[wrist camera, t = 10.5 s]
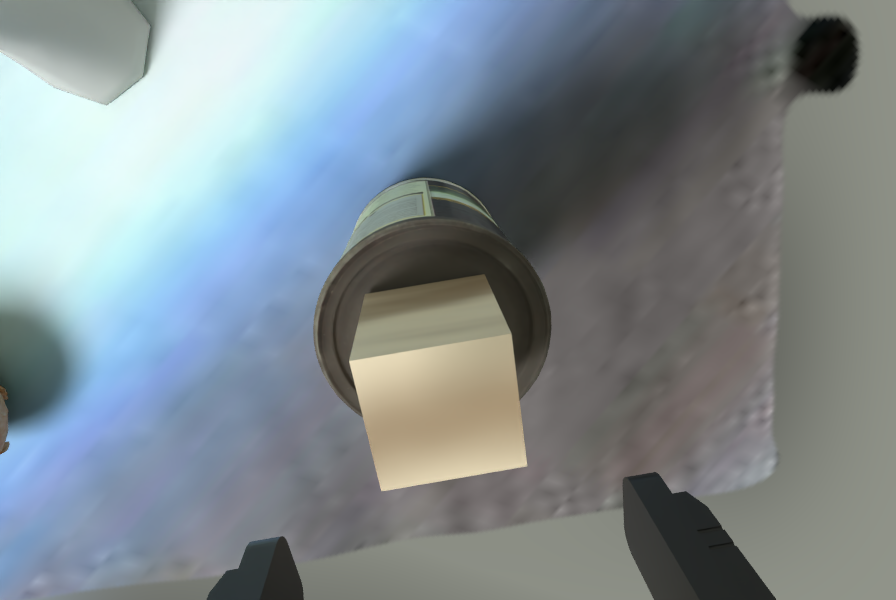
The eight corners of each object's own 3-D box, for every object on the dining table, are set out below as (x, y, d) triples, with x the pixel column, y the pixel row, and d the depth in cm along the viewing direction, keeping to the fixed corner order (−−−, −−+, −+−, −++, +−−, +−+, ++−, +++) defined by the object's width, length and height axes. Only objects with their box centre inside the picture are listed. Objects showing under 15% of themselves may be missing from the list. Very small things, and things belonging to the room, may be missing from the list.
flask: (50, -72, 27) (-136, -165, 18) (175, 23, 29) (65, -17, 20) (-5, 45, 29) (-201, 15, 20) (116, 127, 31) (-10, 136, 22)
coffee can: (504, 176, 34) (564, 220, 21) (495, 320, 37) (541, 436, 24) (346, 174, 33) (303, 217, 20) (352, 321, 37) (320, 441, 23)
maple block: (365, 293, 21) (349, 361, 15) (484, 274, 21) (511, 333, 16) (388, 397, 23) (381, 491, 17) (498, 378, 23) (527, 465, 17)
